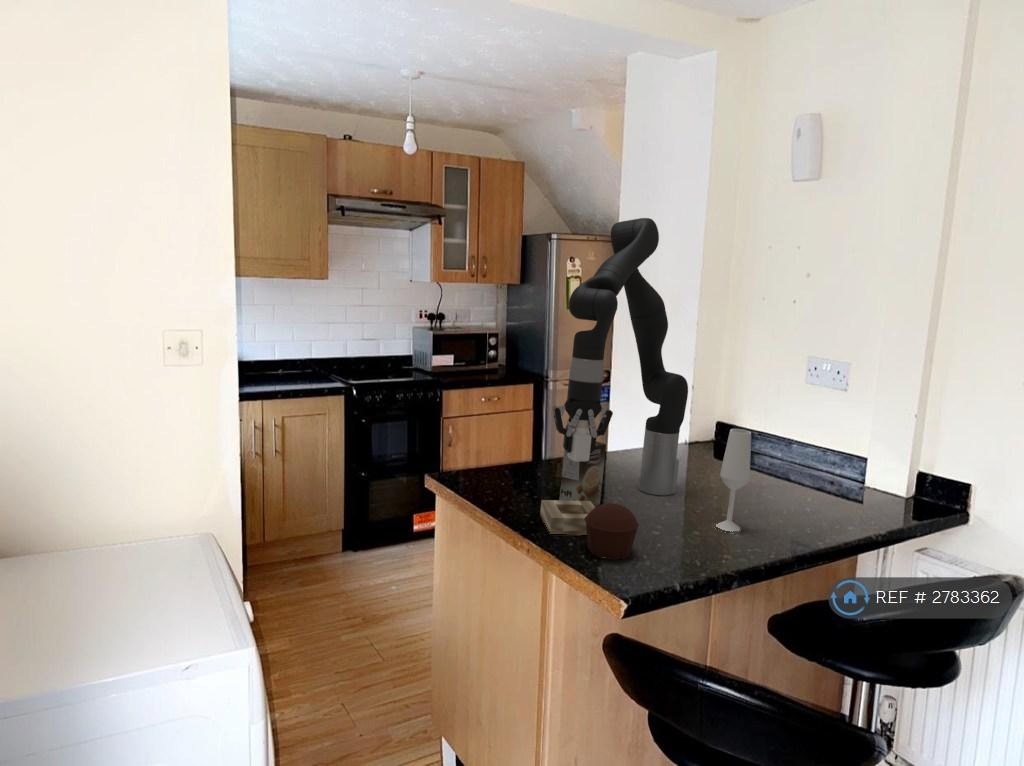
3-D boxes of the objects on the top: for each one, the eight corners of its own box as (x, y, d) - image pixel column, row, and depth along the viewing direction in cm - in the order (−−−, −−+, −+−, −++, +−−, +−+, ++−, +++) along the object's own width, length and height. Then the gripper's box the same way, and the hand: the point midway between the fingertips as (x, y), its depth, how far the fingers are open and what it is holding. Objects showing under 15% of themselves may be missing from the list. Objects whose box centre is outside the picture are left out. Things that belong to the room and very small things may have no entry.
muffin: (605, 537, 156) (610, 494, 154) (646, 554, 148) (651, 509, 146) (570, 548, 148) (574, 503, 146) (611, 567, 140) (616, 519, 138)
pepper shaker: (574, 462, 156) (578, 421, 155) (566, 457, 160) (570, 417, 158) (589, 462, 158) (594, 420, 156) (581, 457, 161) (585, 417, 160)
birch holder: (588, 516, 168) (590, 501, 167) (602, 535, 156) (604, 518, 156) (540, 516, 166) (541, 499, 166) (550, 535, 154) (551, 517, 154)
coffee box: (577, 511, 171) (583, 448, 169) (558, 504, 176) (563, 442, 173) (600, 504, 178) (606, 443, 175) (581, 498, 182) (587, 438, 180)
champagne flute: (728, 522, 172) (740, 427, 168) (748, 531, 166) (761, 433, 162) (707, 524, 169) (719, 428, 165) (727, 534, 163) (740, 435, 159)
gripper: (611, 377, 161) (604, 449, 163) (551, 373, 158) (544, 446, 161) (621, 382, 153) (613, 458, 156) (558, 379, 151) (551, 455, 154)
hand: (578, 451), depth 159 cm, fingers closed on pepper shaker, 4 cm apart
